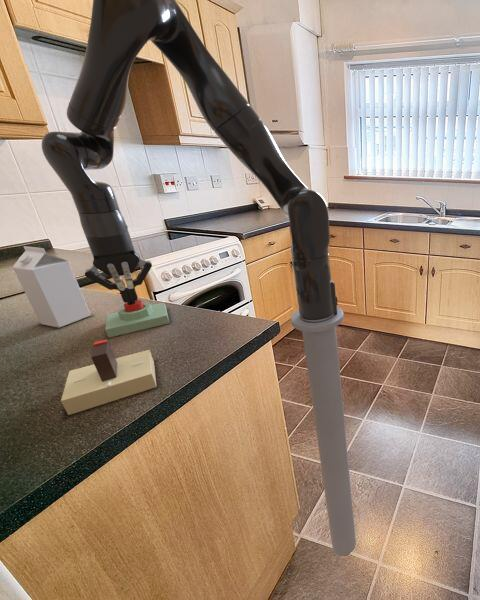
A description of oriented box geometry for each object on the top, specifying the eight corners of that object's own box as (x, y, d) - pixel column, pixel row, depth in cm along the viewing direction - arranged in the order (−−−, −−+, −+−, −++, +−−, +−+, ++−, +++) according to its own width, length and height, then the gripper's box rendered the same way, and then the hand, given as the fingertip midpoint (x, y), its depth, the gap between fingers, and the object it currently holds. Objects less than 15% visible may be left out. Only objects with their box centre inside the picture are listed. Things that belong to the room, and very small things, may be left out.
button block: (166, 309, 91) (162, 296, 90) (169, 323, 84) (164, 308, 82) (110, 321, 85) (104, 307, 83) (108, 337, 77) (102, 322, 76)
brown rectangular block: (116, 377, 59) (105, 351, 57) (101, 381, 58) (90, 355, 55) (117, 362, 63) (107, 338, 61) (103, 366, 62) (93, 342, 60)
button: (143, 305, 85) (141, 298, 84) (144, 310, 82) (142, 303, 82) (126, 308, 83) (123, 302, 82) (125, 314, 80) (123, 307, 80)
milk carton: (73, 312, 90) (42, 242, 82) (91, 315, 88) (61, 244, 80) (40, 324, 84) (3, 250, 76) (59, 328, 82) (23, 252, 74)
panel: (153, 361, 68) (149, 348, 67) (156, 387, 61) (151, 372, 60) (75, 384, 62) (68, 370, 61) (68, 415, 54) (60, 400, 53)
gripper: (64, 239, 69) (95, 315, 76) (143, 231, 76) (165, 301, 83) (69, 233, 74) (98, 304, 81) (142, 225, 81) (163, 291, 88)
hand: (132, 302), depth 82 cm, fingers closed
